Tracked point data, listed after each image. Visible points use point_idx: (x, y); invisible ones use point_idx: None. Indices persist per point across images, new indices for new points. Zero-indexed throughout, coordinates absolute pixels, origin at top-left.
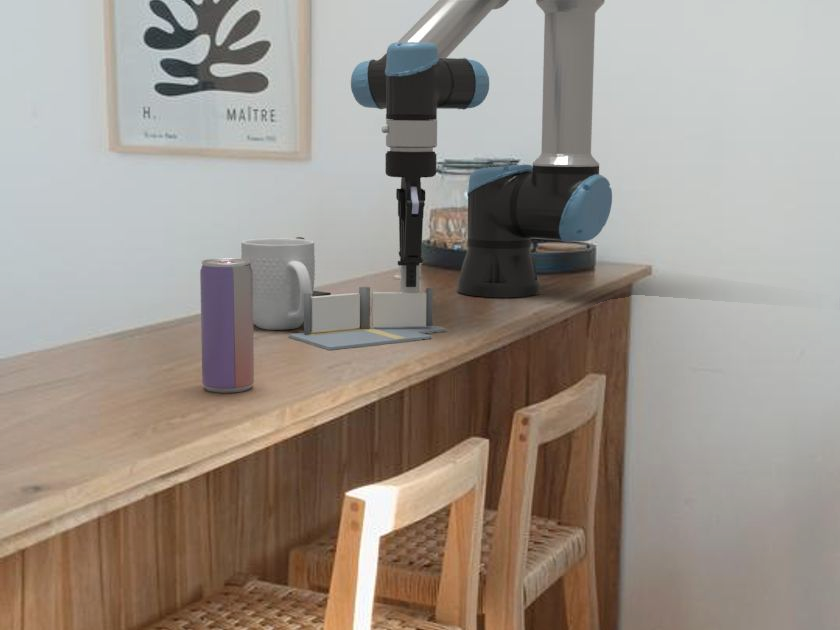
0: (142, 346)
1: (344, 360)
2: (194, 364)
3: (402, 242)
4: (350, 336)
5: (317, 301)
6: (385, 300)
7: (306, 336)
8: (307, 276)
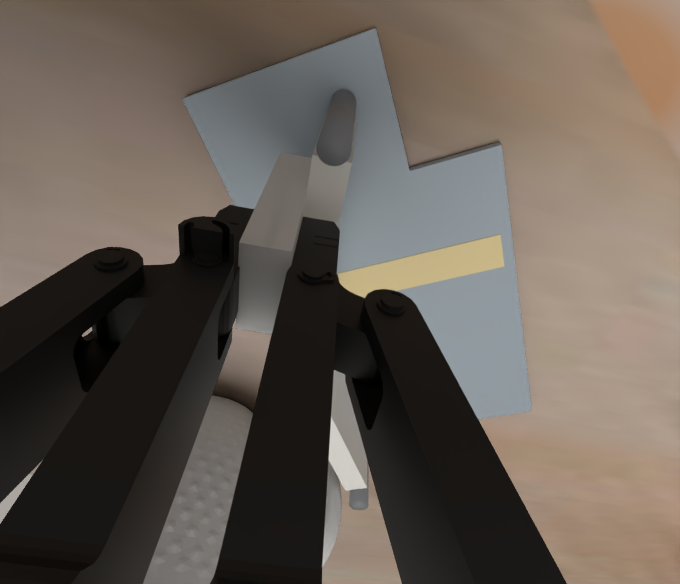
0: (371, 570)
1: (651, 406)
2: None
3: (199, 424)
4: None
5: (363, 469)
6: None
7: None
8: (325, 545)
